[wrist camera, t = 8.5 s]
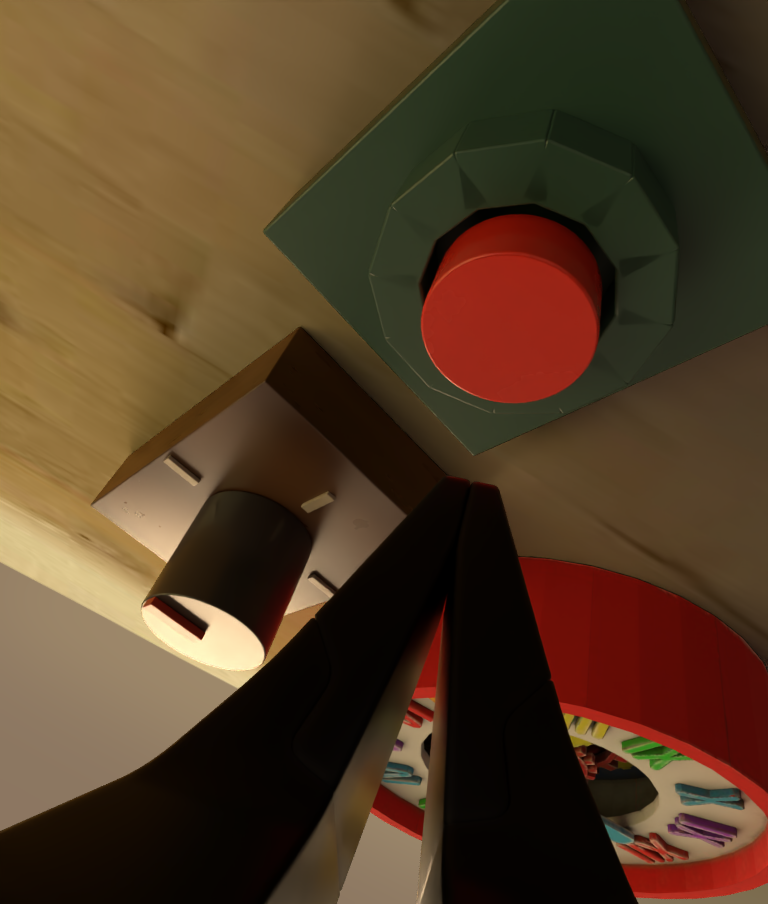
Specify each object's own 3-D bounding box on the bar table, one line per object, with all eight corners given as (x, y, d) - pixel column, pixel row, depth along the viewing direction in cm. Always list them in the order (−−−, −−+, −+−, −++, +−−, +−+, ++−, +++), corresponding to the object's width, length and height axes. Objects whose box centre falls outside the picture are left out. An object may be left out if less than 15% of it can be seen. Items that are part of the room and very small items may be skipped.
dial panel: (300, 325, 21) (262, 383, 19) (468, 497, 25) (453, 562, 23) (128, 455, 29) (87, 508, 27) (276, 574, 32) (250, 629, 30)
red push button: (539, 176, 13) (529, 214, 12) (634, 311, 14) (634, 358, 13) (405, 273, 15) (385, 313, 14) (499, 382, 16) (488, 427, 15)
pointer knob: (335, 551, 24) (288, 668, 21) (263, 578, 27) (211, 686, 24) (248, 474, 23) (182, 589, 19) (180, 512, 25) (112, 618, 22)
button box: (621, -120, 12) (619, -101, 10) (817, 248, 16) (857, 341, 13) (291, 197, 18) (231, 265, 16) (484, 412, 22) (463, 499, 19)
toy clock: (491, 621, 20) (928, 885, 24) (515, 483, 24) (884, 729, 28) (248, 754, 33) (551, 907, 38) (290, 652, 38) (559, 800, 42)
